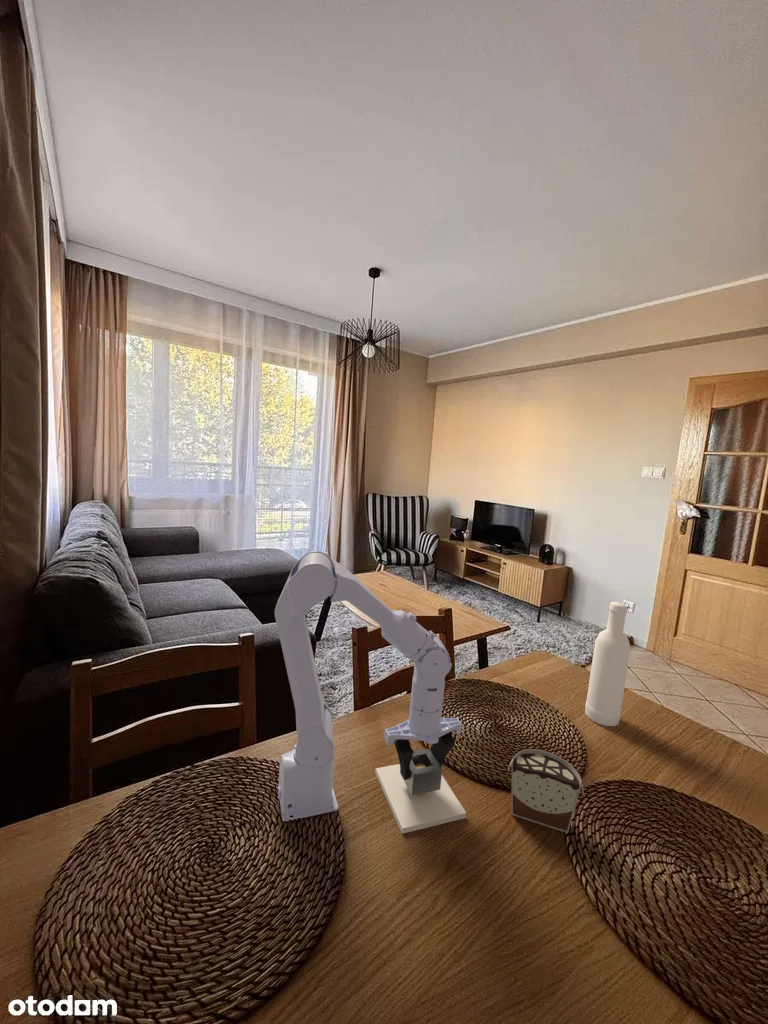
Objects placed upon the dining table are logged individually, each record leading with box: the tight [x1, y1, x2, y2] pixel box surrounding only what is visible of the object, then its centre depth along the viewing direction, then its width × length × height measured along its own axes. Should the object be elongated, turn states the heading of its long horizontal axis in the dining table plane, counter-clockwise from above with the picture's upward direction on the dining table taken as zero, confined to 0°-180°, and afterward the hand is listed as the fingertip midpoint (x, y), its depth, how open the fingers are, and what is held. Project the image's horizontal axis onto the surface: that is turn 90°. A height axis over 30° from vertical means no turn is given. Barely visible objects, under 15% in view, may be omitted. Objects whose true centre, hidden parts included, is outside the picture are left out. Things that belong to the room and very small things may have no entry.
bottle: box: [584, 601, 632, 728], centre depth 106 cm, size 8×8×30 cm
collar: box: [400, 748, 443, 796], centre depth 78 cm, size 6×6×4 cm
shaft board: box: [374, 763, 467, 835], centre depth 78 cm, size 12×14×6 cm
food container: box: [507, 748, 585, 834], centre depth 76 cm, size 12×6×10 cm, turn 71°
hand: (419, 772), depth 78 cm, fingers closed on collar, 6 cm apart
